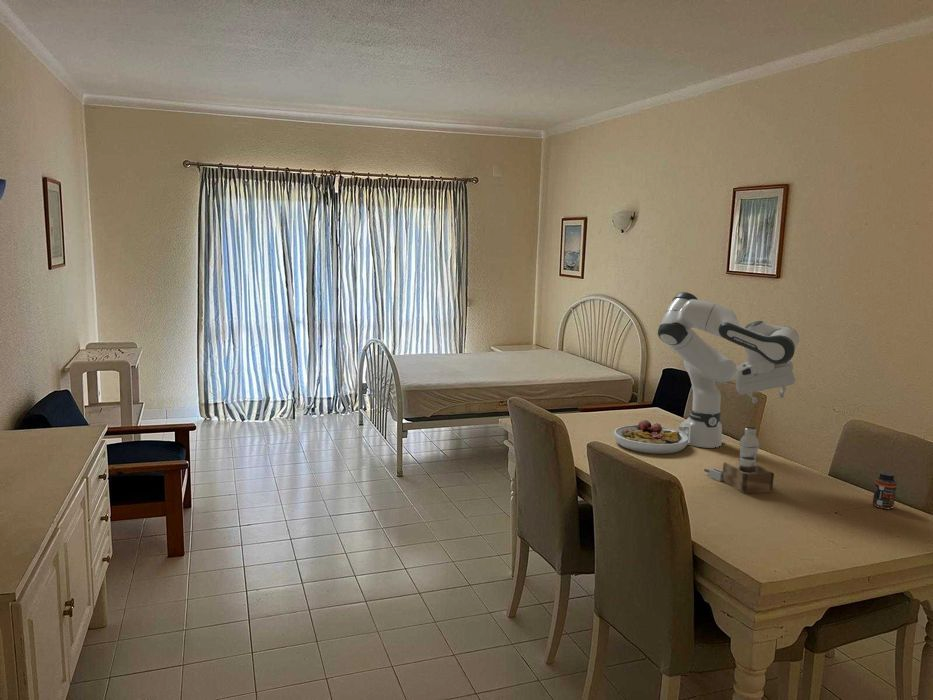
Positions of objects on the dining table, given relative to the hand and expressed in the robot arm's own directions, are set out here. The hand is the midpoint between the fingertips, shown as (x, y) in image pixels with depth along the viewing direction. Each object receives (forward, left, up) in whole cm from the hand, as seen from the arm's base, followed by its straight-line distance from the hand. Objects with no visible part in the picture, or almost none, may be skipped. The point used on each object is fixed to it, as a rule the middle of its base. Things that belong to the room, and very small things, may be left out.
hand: (768, 400), depth 258 cm
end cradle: (+15, -16, -27) cm, 35 cm away
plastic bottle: (+15, -17, -26) cm, 34 cm away
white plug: (+6, -22, -27) cm, 36 cm away
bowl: (-38, -27, -28) cm, 54 cm away
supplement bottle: (+39, +18, -28) cm, 51 cm away
